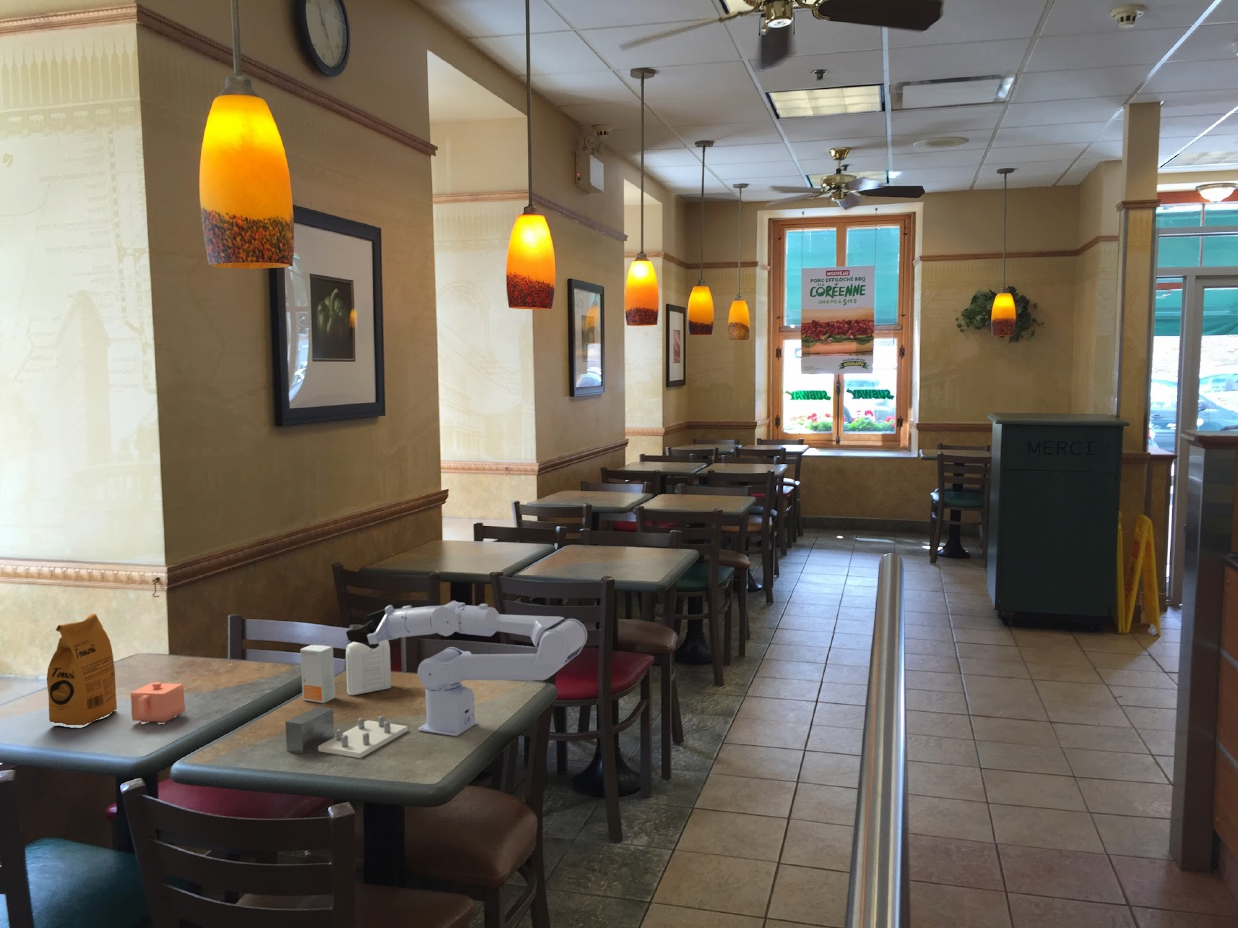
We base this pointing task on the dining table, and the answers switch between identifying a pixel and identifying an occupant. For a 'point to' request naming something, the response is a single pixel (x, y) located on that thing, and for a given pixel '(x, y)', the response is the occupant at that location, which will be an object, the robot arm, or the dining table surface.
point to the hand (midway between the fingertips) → (358, 627)
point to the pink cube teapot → (157, 702)
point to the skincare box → (317, 673)
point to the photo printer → (367, 668)
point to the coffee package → (81, 674)
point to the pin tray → (362, 738)
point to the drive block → (309, 730)
